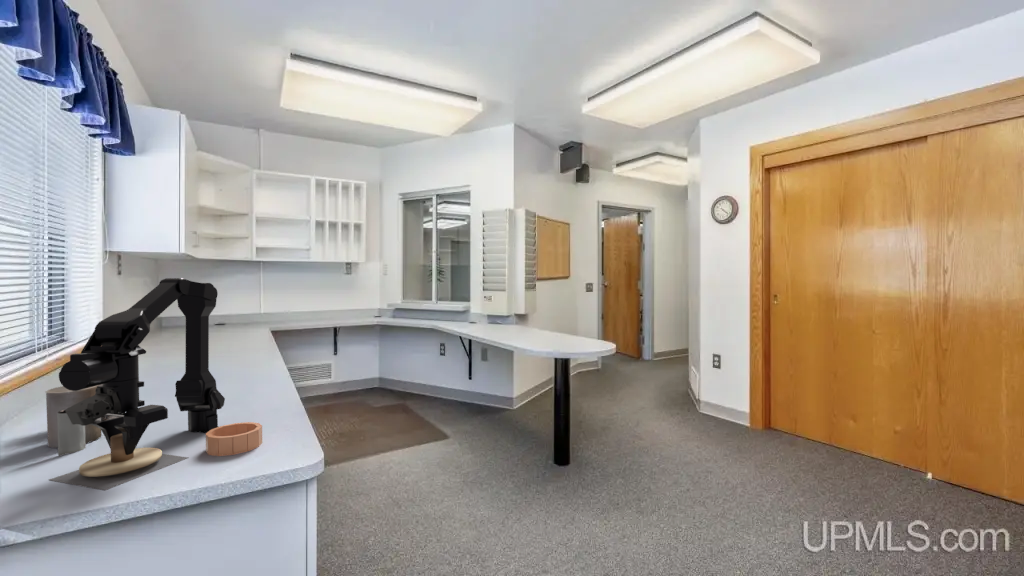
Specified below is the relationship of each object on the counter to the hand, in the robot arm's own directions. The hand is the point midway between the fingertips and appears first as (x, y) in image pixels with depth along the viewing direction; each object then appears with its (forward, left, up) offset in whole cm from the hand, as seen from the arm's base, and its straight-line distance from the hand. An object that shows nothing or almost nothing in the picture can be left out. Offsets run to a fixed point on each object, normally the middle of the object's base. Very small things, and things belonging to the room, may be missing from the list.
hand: (122, 453), depth 93 cm
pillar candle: (-33, +10, -4) cm, 35 cm away
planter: (-23, +4, -4) cm, 24 cm away
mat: (0, 0, -4) cm, 4 cm away
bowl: (+12, +16, -4) cm, 20 cm away
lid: (0, 0, -2) cm, 2 cm away
